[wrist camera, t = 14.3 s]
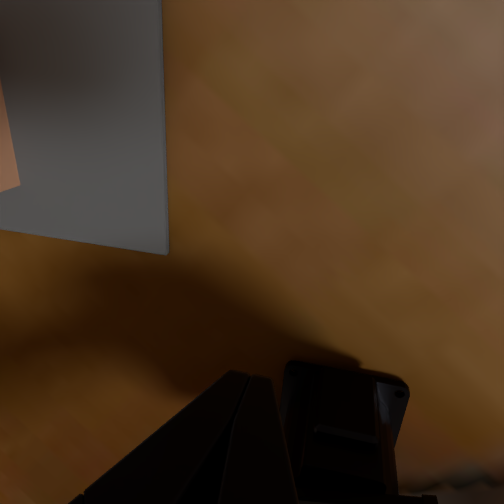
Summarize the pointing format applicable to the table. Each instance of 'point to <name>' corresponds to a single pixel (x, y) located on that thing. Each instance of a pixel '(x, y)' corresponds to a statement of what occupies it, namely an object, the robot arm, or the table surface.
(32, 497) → the table surface
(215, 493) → the robot arm
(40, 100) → the mat
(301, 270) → the table surface
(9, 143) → the tile
